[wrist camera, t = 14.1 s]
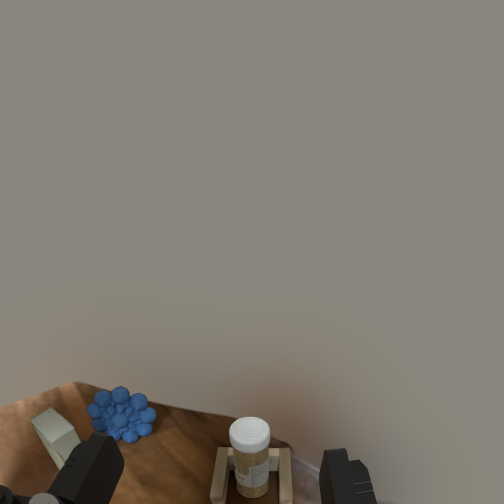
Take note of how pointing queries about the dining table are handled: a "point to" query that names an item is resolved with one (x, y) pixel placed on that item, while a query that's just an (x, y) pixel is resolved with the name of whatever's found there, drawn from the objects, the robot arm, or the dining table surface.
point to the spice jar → (251, 455)
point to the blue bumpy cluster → (121, 414)
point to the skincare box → (56, 435)
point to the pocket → (277, 462)
